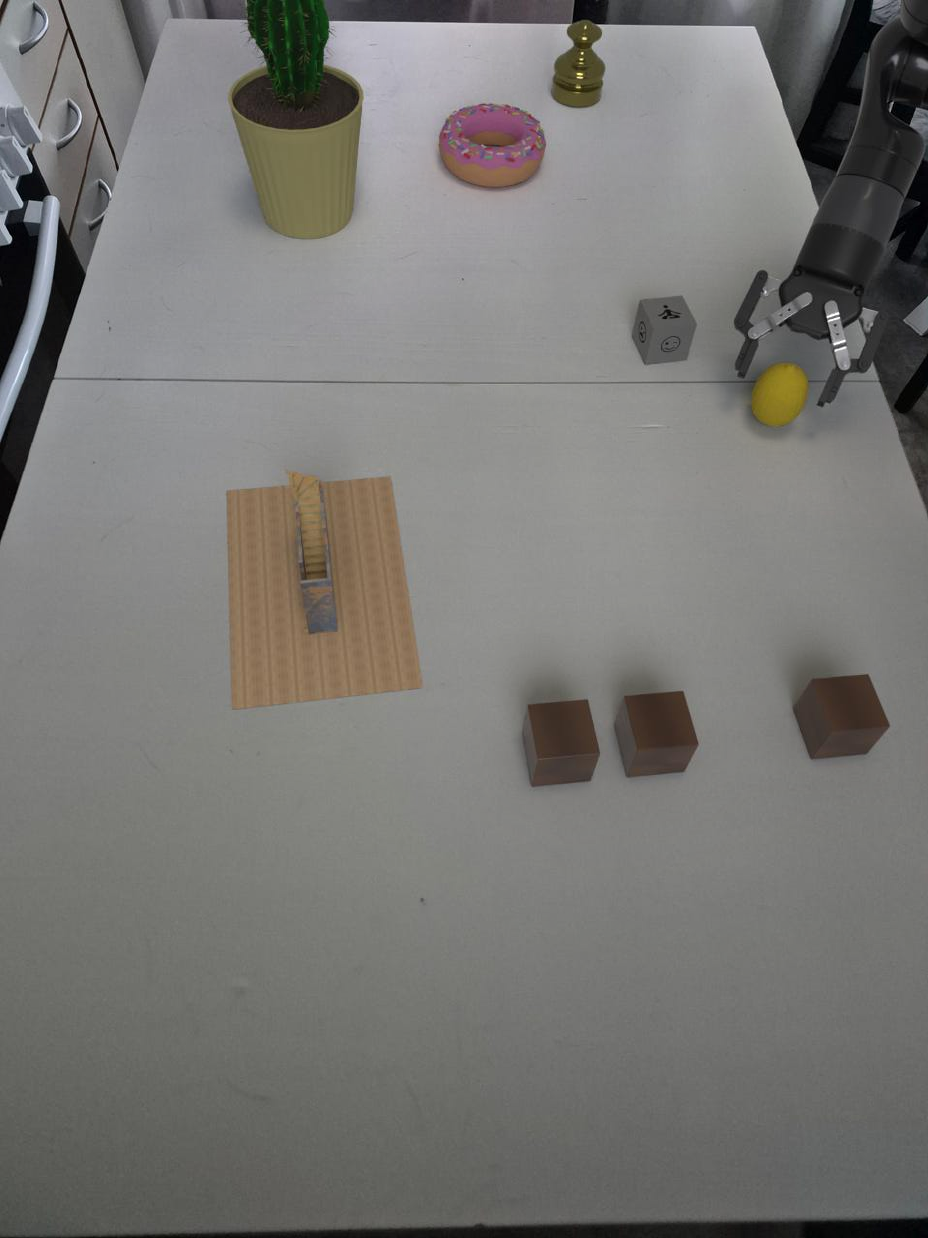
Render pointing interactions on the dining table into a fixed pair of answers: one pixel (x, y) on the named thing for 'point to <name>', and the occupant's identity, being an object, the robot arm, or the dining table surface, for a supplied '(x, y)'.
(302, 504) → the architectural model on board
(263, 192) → the potted cactus
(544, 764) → the walnut block
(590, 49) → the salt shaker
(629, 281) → the dining table surface
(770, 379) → the lemon
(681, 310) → the dice cube
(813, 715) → the walnut block
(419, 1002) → the dining table surface
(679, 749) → the walnut block
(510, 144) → the donut
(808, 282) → the robot arm
